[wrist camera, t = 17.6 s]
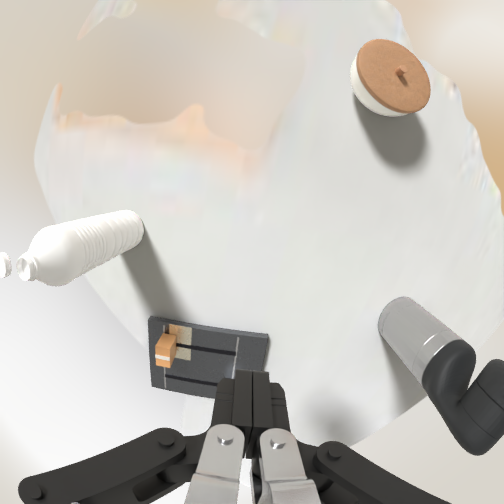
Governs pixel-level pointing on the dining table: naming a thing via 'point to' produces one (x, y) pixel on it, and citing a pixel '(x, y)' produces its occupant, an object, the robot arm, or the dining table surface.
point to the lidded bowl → (389, 79)
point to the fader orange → (165, 350)
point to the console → (203, 356)
